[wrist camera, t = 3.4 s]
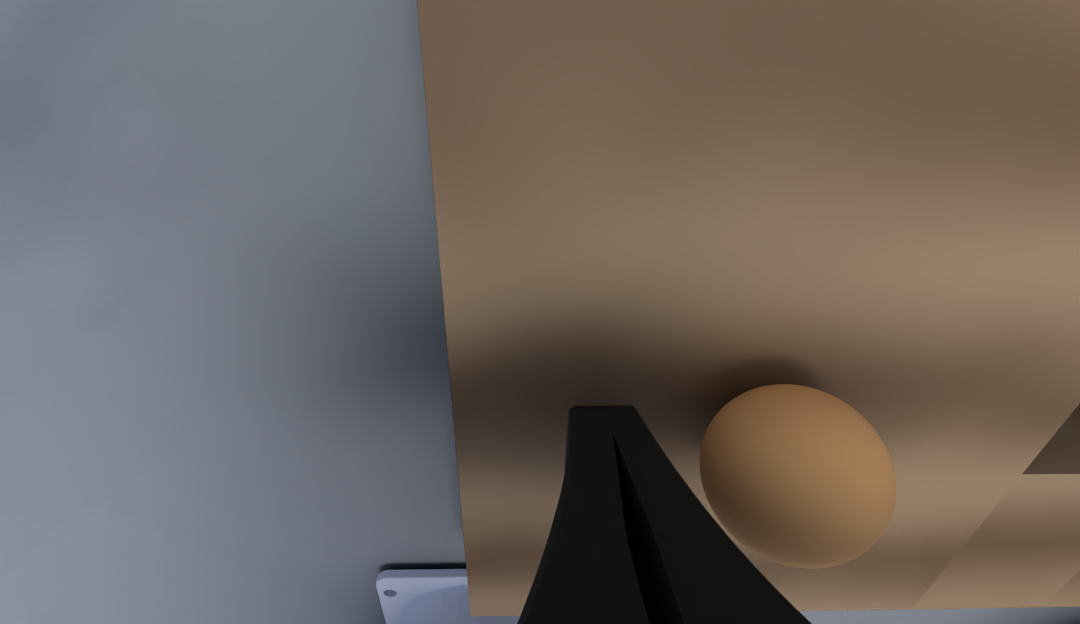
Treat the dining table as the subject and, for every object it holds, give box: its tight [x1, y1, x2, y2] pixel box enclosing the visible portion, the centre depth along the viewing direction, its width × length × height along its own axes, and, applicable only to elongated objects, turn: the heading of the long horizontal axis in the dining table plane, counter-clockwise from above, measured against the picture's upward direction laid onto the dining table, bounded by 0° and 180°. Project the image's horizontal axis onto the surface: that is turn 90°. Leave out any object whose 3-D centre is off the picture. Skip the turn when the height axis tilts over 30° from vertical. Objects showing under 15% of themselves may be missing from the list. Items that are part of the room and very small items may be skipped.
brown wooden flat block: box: [417, 0, 1080, 617], centre depth 13 cm, size 18×22×3 cm
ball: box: [700, 384, 897, 569], centre depth 10 cm, size 4×4×4 cm
